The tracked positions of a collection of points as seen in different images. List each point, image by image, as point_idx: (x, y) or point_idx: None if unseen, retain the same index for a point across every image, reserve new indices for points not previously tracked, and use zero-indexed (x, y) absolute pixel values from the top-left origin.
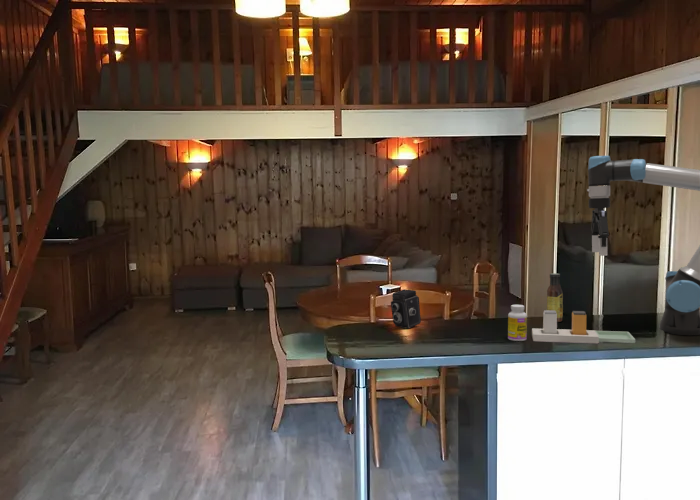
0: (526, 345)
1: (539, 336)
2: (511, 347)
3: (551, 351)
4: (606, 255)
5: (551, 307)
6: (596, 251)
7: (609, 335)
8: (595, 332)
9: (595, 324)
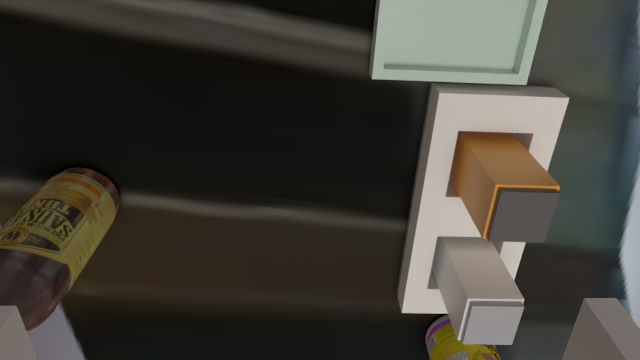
0: (527, 312)
1: None
2: (548, 348)
3: (616, 253)
4: (613, 310)
5: (93, 251)
6: (27, 354)
7: (402, 6)
8: (483, 96)
9: (108, 16)
